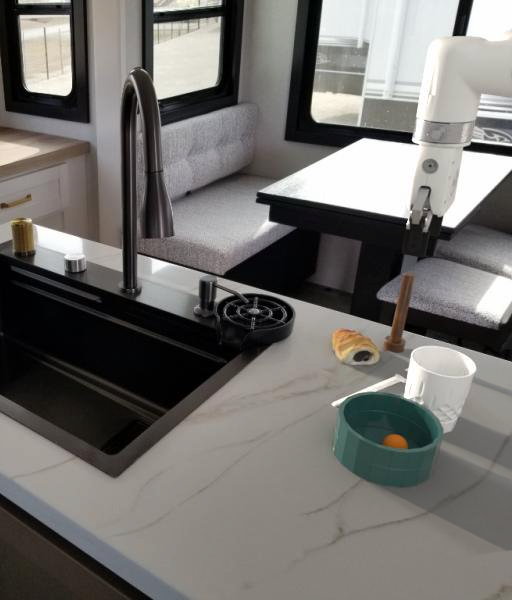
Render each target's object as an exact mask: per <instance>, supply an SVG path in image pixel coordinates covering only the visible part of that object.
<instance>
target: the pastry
mask: <svg viewBox="0 0 512 600" xmlns="http://www.w3.org/2000/svg"><path fill="white" fill-rule="evenodd" d="M331 343H332V350H333V352H334V354H335V356H336V357H337V358H338V360H339V361H340V363H341V364H343V365H350V366H354V365H366V366H369V365H370V366H372V365H376V364H377V363H378V362H379V360H380V358H381V354H380V352H379V349H378V347H377V346H376V345H375V343H374V342H373V341H372V339H371V337H368V336H364V335H363V334H362V333H361V332H359V331H356V330H354V329H347V328H339V329H337V330H335V331H333V333H332V339H331Z"/></svg>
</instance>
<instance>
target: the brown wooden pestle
mask: <svg viewBox="0 0 512 600" xmlns="http://www.w3.org/2000/svg"><path fill="white" fill-rule="evenodd" d="M416 277H417V274H416V273H415V272H412V271H404V272H403V274H402V279H401V282H400V288H399V293H398V297H397V302H396V306H395V311H394V316H393V321H392V325H391V330H390V334H389V335H386V336H385V337H384V340H383V345H382V351H383V352H390V353H395V354H396V353H397V354H398V353H399V354H400V353H403V352H405V348H406V343H407V342H406V339H404V338H403V335H404V330H405V326H406V321H407V317H408V312H409V308H410V303H411V299H412V294H413V290H414V286H415V282H416Z"/></svg>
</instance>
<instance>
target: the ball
mask: <svg viewBox="0 0 512 600" xmlns="http://www.w3.org/2000/svg"><path fill="white" fill-rule="evenodd" d="M382 445H384V446H388V447H391V448H400V449H408V444H407V442H406V440H405V439H404V438H403V437H402V436H400V435H397V434H392V435H389V436H387V437H386V438H385V439H384V440H383V444H382Z"/></svg>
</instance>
